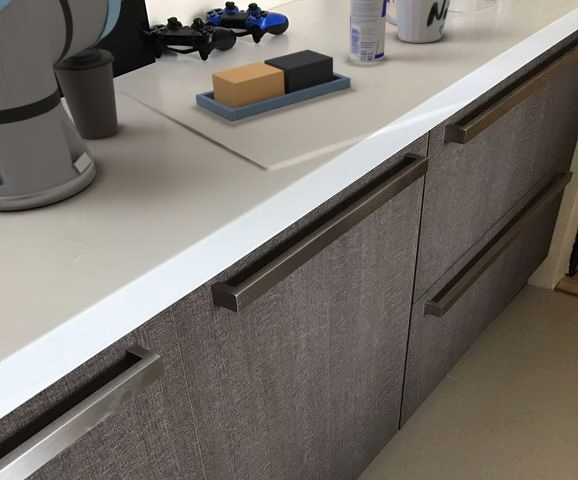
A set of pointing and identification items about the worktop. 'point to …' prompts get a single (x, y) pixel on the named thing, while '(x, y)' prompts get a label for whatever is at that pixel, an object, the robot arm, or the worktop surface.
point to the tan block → (247, 85)
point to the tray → (273, 103)
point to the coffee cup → (89, 91)
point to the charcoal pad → (303, 69)
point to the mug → (420, 19)
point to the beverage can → (367, 30)
